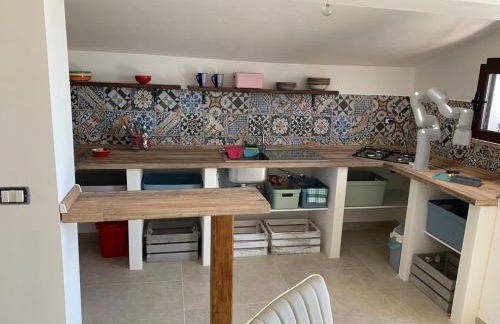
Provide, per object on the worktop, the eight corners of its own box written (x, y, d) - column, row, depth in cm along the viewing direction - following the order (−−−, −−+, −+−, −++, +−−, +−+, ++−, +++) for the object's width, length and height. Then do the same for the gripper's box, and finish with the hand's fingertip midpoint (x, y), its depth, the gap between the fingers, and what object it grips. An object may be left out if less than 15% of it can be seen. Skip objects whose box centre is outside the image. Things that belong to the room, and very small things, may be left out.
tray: (431, 178, 262) (431, 175, 262) (438, 175, 272) (438, 172, 272) (449, 182, 255) (449, 179, 254) (455, 178, 265) (456, 176, 264)
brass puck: (447, 179, 259) (445, 175, 259) (448, 178, 263) (446, 175, 263) (454, 176, 256) (453, 173, 256) (455, 175, 260) (454, 172, 260)
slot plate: (449, 182, 255) (450, 177, 254) (456, 178, 265) (456, 174, 264) (476, 187, 244) (477, 182, 243) (481, 183, 254) (482, 179, 253)
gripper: (450, 126, 253) (445, 153, 257) (475, 129, 243) (470, 157, 247) (453, 125, 258) (449, 152, 263) (478, 128, 248) (473, 156, 253)
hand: (459, 154), depth 255 cm, fingers closed
